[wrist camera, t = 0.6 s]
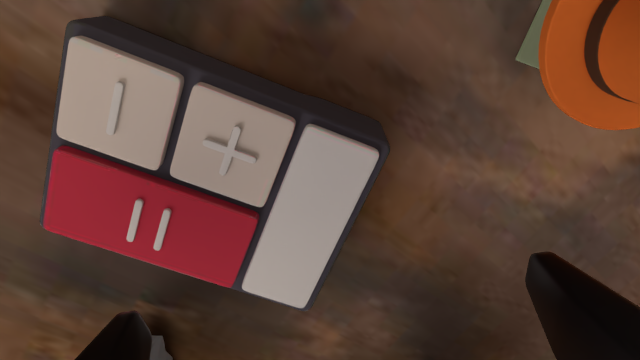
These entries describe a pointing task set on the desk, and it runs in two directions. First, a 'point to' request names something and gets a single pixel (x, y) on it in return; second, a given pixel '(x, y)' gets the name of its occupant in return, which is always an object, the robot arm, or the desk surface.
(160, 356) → the handheld gaming console
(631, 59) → the hat
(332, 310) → the desk surface
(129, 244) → the calculator
